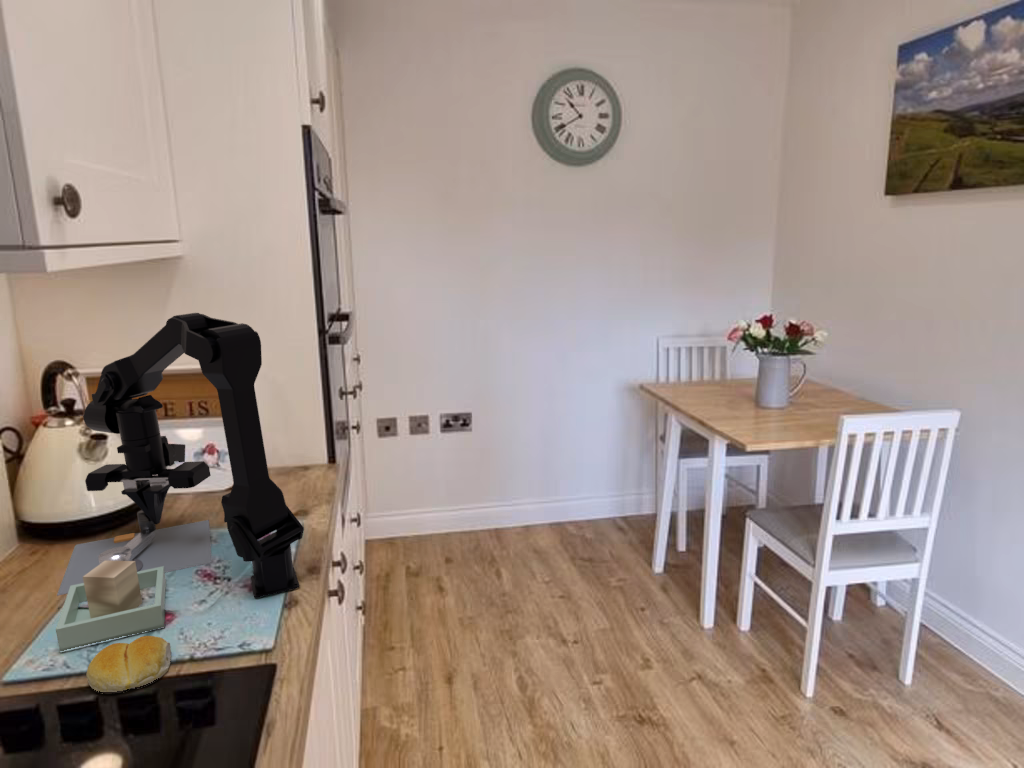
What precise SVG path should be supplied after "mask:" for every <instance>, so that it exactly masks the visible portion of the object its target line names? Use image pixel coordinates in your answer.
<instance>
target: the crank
mask: <svg viewBox="0 0 1024 768" xmlns="http://www.w3.org/2000/svg"><path fill="white" fill-rule="evenodd" d="M136 516H137V521H138V526H139V527H138V528H139V532H138V533H139V534H138V535H137V536H136V537H134V538H133V539H132V540H131V541H130V542H129V543H127V544H126V545H125V546H124V547H116V548H112V549H109V550H106V551H104V552H102V553H101V554H100V555H99V556H98V559H99V564H101V563H102V562H104V561H105V560H106V561H133V560H132V559H133V558H134V557H136V556H137V555H138V554H139V553H140V552H141V551H142V550H143V549H144V548H145V547H146V546H147V545H149V544H150V543H151V542H152V541H153V540H154V539H155V534H154V531H155V530H157V528H156V524H154V523H153V522H152V521H151V519H150V518H149V517H148V516H147V515H146V514H145V513H144V512H143V510H142V509H141V510H138V511H137V513H136Z"/></svg>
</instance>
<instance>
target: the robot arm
mask: <svg viewBox="0 0 1024 768" xmlns="http://www.w3.org/2000/svg"><path fill="white" fill-rule="evenodd" d="M183 354H185V355H186V356H188V357H190V358H193V359H194V360H197V361H198V362H199V367H200V370H201V373H202V374H203V376H204V377H205V378H206V379H207V380H208V381H209V383H210V384H212V386H213V387H214V388H215V389H216V391H217V395H218V401H219V406H220V408H219V409H220V412H221V413H220V415H221V417H222V418H221V419H222V423H223V431H224V437H225V441H226V442H225V443H226V446H227V453H228V459H229V463H230V464H229V465H230V469H231V474H232V481H233V484H232V485H233V486H232V488H231V490H230V492H228V493H226V494H224V495H222V497H221V506H222V509H223V510H222V511H223V515H224V517H223V518H224V519H223V522H224V524H225V523H226V527H227V531H228V534H229V537H230V540H231V541H232V544H233V547H234V550H235V552H236V555H237V556H238V557H239V558H242V561H243V562H246V563H248V562H251V565H252V573H253V575H251V576H250V584H251V588H252V594H253V598H254V599H259V598H262V597H267V596H271V595H272V596H273V595H276V594H279V593H284V592H288V591H292V590H296V589H299V588H300V581H299V579H298V576H297V573H296V569H295V567H294V565H293V554H292V544H293V543H295V542H297V541H299V540H301V539H303V535H304V532H305V531H304V530H305V528H304V526H303V524H302V523H301V522H300V521H299V520H298V518H297V517H296V516H295V514H294V513H293V512H292V510H291V509H290V508H289V506H287V503H286V499H285V496H284V493H283V490H282V489H281V488H279V486H278V484H276V483H275V482H274V481H273V479H271V477H270V474H269V468H268V461H267V456H266V449H265V445H264V438H263V432H262V425H261V418H260V414H259V413H260V412H259V408H258V407H259V406H258V401H257V395H256V389H255V383H256V381H257V379H258V375H259V372H260V370H261V368H262V365H263V364H262V363H263V361H262V342H261V338H260V335H259V333H258V331H255V330H254V328H253V327H252V326H250V325H248V324H246V323H238V322H234V321H230V320H225V319H219V318H215V317H214V318H213V317H210V316H208V315H206V314H203V313H199V312H192V313H183V314H178V315H177V314H176V315H173V316H171V317H170V318H168V319H167V320H166V323H165V325H164V326H163V327H161V329H159V331H157V332H156V333H155V334H154V335H152V337H151V338H150V339H148V340H147V342H145V343H144V344H143V345H141V347H140V348H138V349H137V350H136V351H135V352H133V354H131V355H128V356H125V357H122V358H120V359H117V360H114V361H112V362H110V363H108V364H106V365H105V366H103V368H102V370H101V373H100V374H101V375H100V377H99V380H98V385H97V388H96V390H95V392H94V393H92V394H91V398H92V401H90V402H89V403H88V404H87V405H86V407H85V409H84V412H83V413H84V414H83V418H82V419H83V421H84V424H85V425H86V427H88V428H89V429H90V430H92V431H95V432H101V433H108V434H116V435H119V436H120V441H121V445H119V446H117V447H116V451H117V454H123V456H124V457H123V458H124V461H125V463H116V464H114V463H113V464H108V463H107V464H104V465H103V466H101V467H98V468H96V469H94V470H92V471H90V472H88V474H86V477H85V480H84V482H85V488H86V491H87V492H98V491H99V492H101V491H102V492H103V491H104V490H106V488H108V486H109V483H122V485H123V490H121V494H122V495H123V496H127V497H128V498H129V499H130V500H131V501H132V502H133V503H135V505H137V507H138V508H140V509H141V510H143V512H144V513H145V514H146V515H147V516H148V517H149V518H150V519H151V521H152V522H153V523H154V524H155V525H158V524H160V522H161V520H162V514H163V510H164V505H165V501H166V497H167V494H168V492H169V490H170V488H173V489H192V488H195V487H196V486H197V485H199V484H201V483H203V481H205V480H207V479H208V478H210V477H211V471H210V470H211V469H210V466H209V465H208V464H207V463H206V462H205V461H203V460H200V461H199V460H198V461H186V444H184V443H183V444H182V443H180V444H179V443H169V441H168V438H167V436H166V435H161V430H160V425H159V420H158V414H157V410H160V409H162V408H163V407H164V405H163V403H161V402H160V400H158V399H156V398H154V397H153V395H152V394H149V393H152V392H154V391H155V390H156V389H157V388H158V386H159V385H160V383H162V381H163V379H164V376H163V372H164V371H165V370H166V369H167V368H168V367H169V366H171V365H172V363H174V362H176V361H177V360H178V359H179V358H180V357H181V356H182V355H183ZM175 462H179V463H181V464H179V465H178V466H176V467H174V468H168V467H171V466H173V465H175Z"/></svg>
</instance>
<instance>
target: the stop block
mask: <svg viewBox="0 0 1024 768" xmlns="http://www.w3.org/2000/svg"><path fill="white" fill-rule="evenodd" d="M83 581H84V587H85V592H86V597H87V601H86V602H87V607H89V613H90V618H96V617H100V616H104V615H109V614H113V613H117V612H122V611H126V610H130V609H135V608H139V607H141V605H142V604H143V599H142V594H141V593H142V592H141V589H140V586H139V580H138V575H137V569H136V563H135V561H106V560H105V561H104V562H102V563H101V564H100V565H98V566H97V567H96V568H94V569H93V570H91V571H90V572H89V573H87V574H86V575H85V576H83Z"/></svg>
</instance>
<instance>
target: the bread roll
mask: <svg viewBox="0 0 1024 768" xmlns="http://www.w3.org/2000/svg"><path fill="white" fill-rule="evenodd" d="M171 647H172V646H171V643H170V642H169V641H167V640H165V639H164V638H163V637H160V636H154V635H143V636H140V637H138V638H136V639H134V640H133V641H132V642H130V643H126V642H117V643H116V642H115V643H112V644H109V645H107V646H106V647H104V648H103V649H102V650H100V651H99V652H98V653H96V654H95V656H94V657H93V658H92V660H91V662H90V663H89V664H88V666H87V669H86V674H85V675H86V680H87V682H88V683H87V684H88V685H89V686H90V687H91V689H92V690H93V689H94V690H93V691H95V690H96V691H95V692H97V691H98V692H97V693H99V691H100V692H117V691H123V690H127V689H129V690H130V689H135V687H140V686H143V685H146V684H148V683H150V684H152V683H154V682H155V681H154V680H156V679H157V680H158V678H159V679H161V678H162V677H163V676H164V675H166V673H167V672H168V670H169V669H170V666H171V662H170V661H171V660H170V658H171V659H172V650H171V649H172V648H171ZM157 680H156V681H157ZM153 681H154V682H153ZM151 682H152V683H151ZM148 685H149V684H148ZM146 686H147V685H146Z"/></svg>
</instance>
